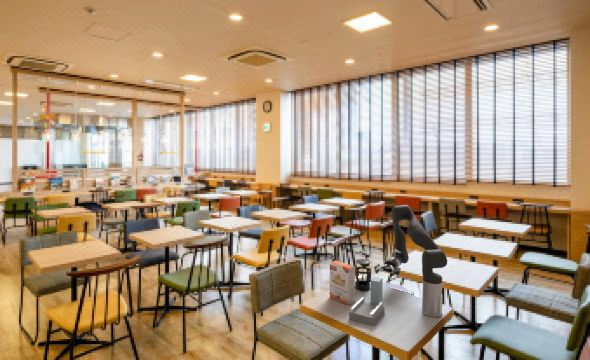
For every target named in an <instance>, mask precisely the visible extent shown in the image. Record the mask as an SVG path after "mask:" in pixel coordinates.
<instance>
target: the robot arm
mask: <svg viewBox="0 0 590 360" xmlns="http://www.w3.org/2000/svg"><path fill="white" fill-rule="evenodd" d="M391 221H392V228H393V233H394V242H393V243H394V249H395V250H394V251H392V253H391V257H389V258H388V259H387V260H386V261H385V262H384V264H382V265H381V264H380V263H377V264H376V265H374V272H375V274H378V273H380V272H381V273H385V272H387V273H388V274H389V275H390V277H394V276H396V275H397V276H399V275H400V274H401V267H400V266H401V265H402V264H408V262H409V253H408V250H407V237H406V233H404V231H403V230H402V228H401V226H400V224H399V222H401V221H408V225H407V228H406V229H407V230H406V232H407V235H408V237H409V238H410V240H411V241H412V242H413V243H414V244H415V245H417V246H419V247H420V248H422V249H424V251H423V252H422V253H421V254H422V255H421V271H422V301H421V302H422V303H421V304H422V305H421V306H422V307H421V311H422V314H423V315H425V316H427V317H430V318H440V317H441V316H442V313H443V276H442V275H441V274H439V273H437V272H434V270H433V269H442V268H445V267H446V266H447V265H448V258H447V255H446V254H445V252H444V250H443V249H442V248H441V247H440V246H439V245H438V244H437V243H436V241H434V240H433V238H432V237H431V236H430V235H429V234H428V232H427V230H426V229H425V228H424V226H423V225H422V224H421V223H420V221H419V219H417V216H416V215H415V213H414V212H413V210H412V208H411V207H410V206H409V205H408V204H402V205H395V206H392V208H391Z"/></svg>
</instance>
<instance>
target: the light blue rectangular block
mask: <svg viewBox="0 0 590 360" xmlns="http://www.w3.org/2000/svg"><path fill="white" fill-rule="evenodd" d="M380 302H383V277H379V276H377V277H376V276H374V277H373V278H371V282H370V302H369V303H373V304H377V305H378V304H379V303H380Z"/></svg>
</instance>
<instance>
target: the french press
mask: <svg viewBox="0 0 590 360" xmlns="http://www.w3.org/2000/svg"><path fill="white" fill-rule="evenodd" d="M359 253H360V254H361V255H362V256H364V254H366V253H367V251H366V250H360V251H359ZM357 264H358V265H360V266H357V267H356V266H355V275H356V276H355V290H356V291H360V292H368V291H371V279H372V267H370V266H371V265H370V264H371V260H369V259H366V258H360V259H359V258H358V259H355V265H357ZM360 270H362V271H360ZM364 270H366V271H364ZM359 274H360V275H359Z"/></svg>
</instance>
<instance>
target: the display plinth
mask: <svg viewBox="0 0 590 360" xmlns="http://www.w3.org/2000/svg"><path fill="white" fill-rule="evenodd" d="M384 315H385V306H384V302H383V301H382V302H380V303H379V304H378V305H377V304H373V303H370V302H367V301H365V297H361V298H360V299H359V300H358V301H356V303H355V304H353V305H352V307H350V310H349V311H348V319H349V320H350V321H353V322H355V323H360V324H364V325H368V326H371V327H375V326H376V325H377V324H378V323H379V322H380V320H381V318H382V317H383V316H384Z"/></svg>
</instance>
